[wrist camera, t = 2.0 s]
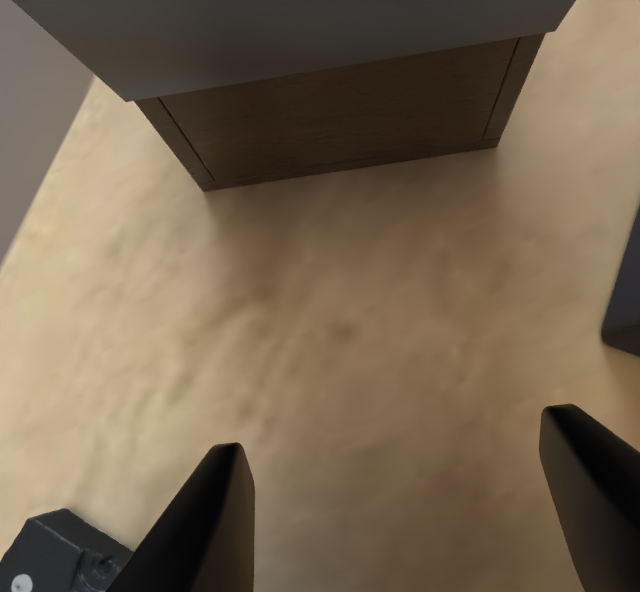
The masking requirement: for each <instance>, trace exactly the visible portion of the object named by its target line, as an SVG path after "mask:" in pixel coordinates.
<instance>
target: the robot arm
mask: <svg viewBox="0 0 640 592" xmlns="http://www.w3.org/2000/svg"><path fill="white" fill-rule="evenodd" d="M539 454H540V459H541V463H542V466H543V470H544V473H545V476H546V479H547V482H548V486H549V489H550V492H551V495H552V498H553V501H554V505H555V508H556V511H557V514H558V517H559V521H560V524H561V527H562V530H563V533H564V536H565V540H566V543H567V546H568V549H569V552H570V555H571V558H572V561H573V564H574V567H575V569H576V572H577V574H578V576H579V579H580V581H581V584H582V586H583V588H584V591H585V592H640V452H639V451H637V450H636V449H634V448H633V447H632V446H630V445H629V444H628V443H626V442H625V441H624V440H622V439H621V438H619V437H618V436H617V435H615V434H614V433H613V432H611V431H610V430H609V429H607V428H606V427H605V426H603V425H602V424H600V423H599V422H598V421H596V420H595V419H594V418H592V417H591V416H590V415H588V414H587V413H586V412H584V411H583V410H581V409H580V408H579V407H577V406H575V405H573V404H563V405H554V406H547V407H545V408H544V409H543V411H542V414H541V426H540V439H539ZM254 530H255V487H254V480H253V476H252V473H251V470H250V467H249V464H248V461H247V458H246V455H245V451H244V449H243V447H242V445H241V444H240V443H237V442H235V443H226V444H218V445H215V446H213V447H212V448H211V449H210V450H209V451H208V453H207V454H206V455H205V457H204V458H203V459H202V461H201V462H200V463H199V465H198V466H197V468H196V469H195V470H194V472H193V473H192V474H191V476H190V477H189V478H188V480H187V481H186V482H185V484H184V485H183V486H182V488H181V489H180V491H179V492H178V493H177V495H176V496H175V497H174V499H173V500H172V501H171V503H170V504H169V505H168V507H167V508H166V509H165V511H164V512H163V514H162V515H161V516H160V518H159V519H158V520H157V522H156V523H155V524H154V526H153V527H152V528H151V530H150V531H149V532H148V534H147V535H146V536H145V538H144V539H143V541H142V542H141V543H140V545H139V546H138V547H137V549H136V550H135V551H134V553H133V554H132V555H131V557H130V558H129V559H128V561H127V562H126V564H125V565H124V566H123V568H122V569H121V570H120V572H119V573H118V574H117V576H116V577H115V578H114V580H113V581H112V582H111V584H110V585H109V587H108V588H107V589H106V591H105V592H253V588H254Z"/></svg>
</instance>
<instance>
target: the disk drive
mask: <svg viewBox="0 0 640 592" xmlns="http://www.w3.org/2000/svg"><path fill="white" fill-rule="evenodd" d="M133 553H134V552H132V551H131V550H129V549H128V548H127V547H125V546H124V545H122V544H120V543H119V542H117V541H116V540H114V539H112V538H111V537H109V536H108V535H106V534H105V533H103V532H101V531H99V530H98V529H96V528H95V527H92V526H90V525H89V524H88V523H85V522H84V521H83V519H80V518H79V517H78V516H76V515H75V514H73V513H72V512H71V511H69V510H68V509H64V508H62V509H60V510H56V511H52V512H49V513H44V514H41V515H38V516H35V517H32V518H29V519H27V521H26V522H25V524H24V526H23V528H22V530H21V532H20V533H19V534H18V536H17V537H16V539H15V540H14V542H13V544H12V546H11V547H10V548H9V549H8V551H7V552H6V553H5V554H4V556H3V558H2V560H1V562H0V592H105V591H106V589H107V588H108V587H109V585H110V584H111V582H112V581H113V580H114V578H115V577H116V576H117V574H118V573H119V572H120V570H121V569H122V568H123V566H124V565H125V564H126V562H127V561H128V559H129V558H130V557H131V555H132V554H133Z"/></svg>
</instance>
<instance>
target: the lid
mask: <svg viewBox="0 0 640 592" xmlns="http://www.w3.org/2000/svg"><path fill="white" fill-rule="evenodd" d="M13 1H14V2H15V3H16V4H17V5H18V6H19V7H20V8H22V9H23V10H24V11H25V12H26V13H27V14H28V15H29V16H31V17H32V18H33V19H34V20H35V21H36V22H37V23H38V24H39V25H41V26H42V27H43V28H44V29H45V30H46V31H47V32H48V33H49V34H51V35H52V36H53V37H54V38H55V39H56V40H57V41H58V42H60V43H61V44H62V45H63V46H64V47H65V48H66V49H67V50H68V51H70V52H71V53H72V54H73V55H74V56H75V57H76V58H77V59H79V60H80V61H81V62H82V63H83V64H84V65H85V66H86V67H87V68H89V69H90V70H91V71H92V72H93V73H94V74H95V75H96V76H97V77H99V78H100V79H101V80H102V81H103V82H104V83H105V84H106V85H108V86H109V87H110V88H111V89H112V90H113V91H114V92H115V93H116V94H118V95H119V96H120V97H121V98H122V99H123V100H124V101H125V102H129V101H135V100H141V99H147V98H153V97H159V96H165V95H171V94H177V93H184V92H190V91H196V90H202V89H208V88H214V87H220V86H226V85H232V84H238V83H244V82H250V81H256V80H262V79H268V78H274V77H281V76H287V75H293V74H299V73H305V72H311V71H317V70H323V69H329V68H335V67H341V66H347V65H353V64H359V63H365V62H372V61H378V60H384V59H390V58H396V57H402V56H408V55H414V54H420V53H426V52H432V51H438V50H444V49H450V48H456V47H462V46H469V45H475V44H481V43H487V42H493V41H499V40H505V39H511V38H517V37H523V36H529V35H535V34H541V33H547V32H553V31H556V29H557V28H558V26H559V25H560V23H561V22H562V20H563V19H564V17H565V16H566V14H567V13H568V11H569V10H570V8H571V7H572V5H573V4H574V2H575V1H576V0H13Z"/></svg>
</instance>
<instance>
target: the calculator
mask: <svg viewBox="0 0 640 592" xmlns="http://www.w3.org/2000/svg"><path fill="white" fill-rule="evenodd" d="M602 337H603V339H604V341H605V342H607V343H608V344H610V345H612V346H615V347H617V348H620V349H623V350H625V351H628V352H631V353H633V354H636V355H639V356H640V206H639V210H638V213H637V216H636V219H635V223H634V226H633V229H632V232H631V236H630V239H629V242H628V245H627V249H626V252H625V255H624V258H623V262H622V265H621V268H620V271H619V275H618V278H617V281H616V284H615V288H614V291H613V294H612V297H611V301H610V304H609V307H608V310H607V314H606V317H605V320H604V323H603V327H602Z"/></svg>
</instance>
